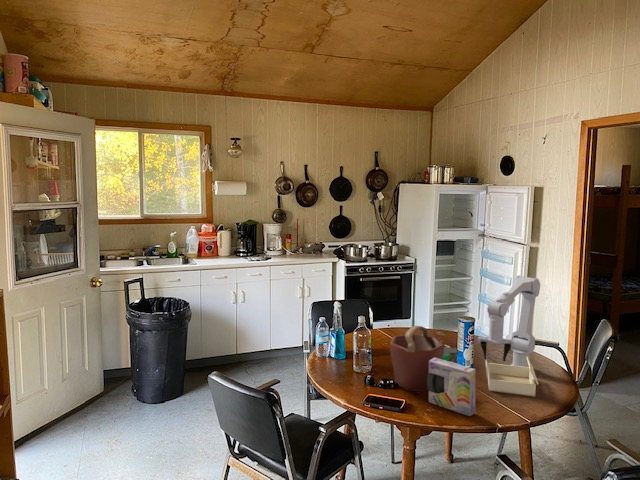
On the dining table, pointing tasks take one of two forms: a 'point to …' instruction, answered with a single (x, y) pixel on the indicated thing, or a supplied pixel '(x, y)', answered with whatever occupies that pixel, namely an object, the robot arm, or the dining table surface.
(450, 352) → the food container
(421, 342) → the bucket
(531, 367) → the cream flap
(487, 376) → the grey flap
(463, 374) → the cake pan box
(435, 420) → the dining table surface
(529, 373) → the carton
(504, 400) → the dining table surface
